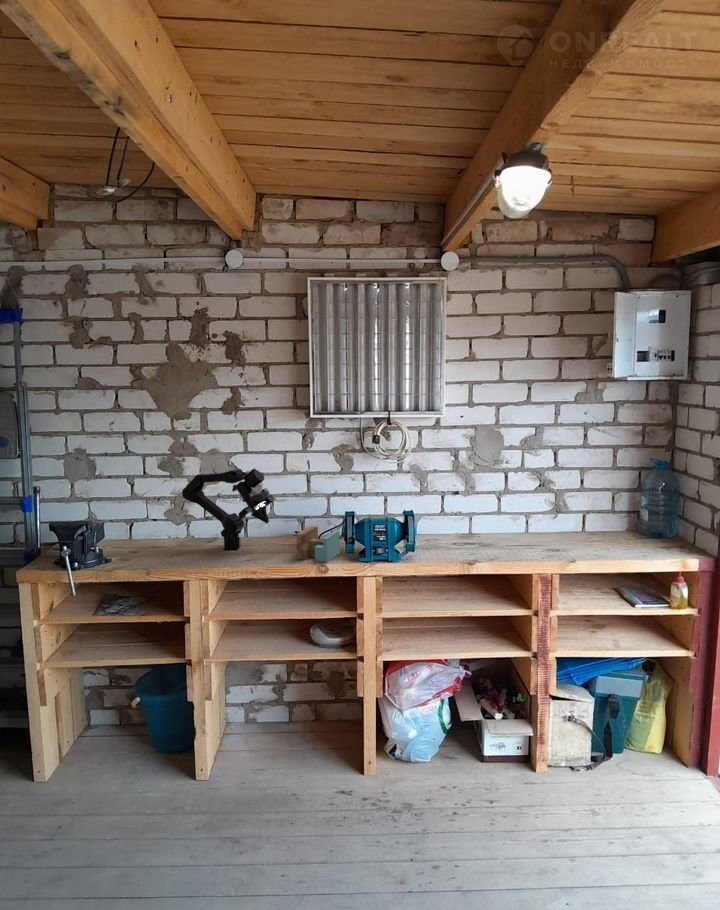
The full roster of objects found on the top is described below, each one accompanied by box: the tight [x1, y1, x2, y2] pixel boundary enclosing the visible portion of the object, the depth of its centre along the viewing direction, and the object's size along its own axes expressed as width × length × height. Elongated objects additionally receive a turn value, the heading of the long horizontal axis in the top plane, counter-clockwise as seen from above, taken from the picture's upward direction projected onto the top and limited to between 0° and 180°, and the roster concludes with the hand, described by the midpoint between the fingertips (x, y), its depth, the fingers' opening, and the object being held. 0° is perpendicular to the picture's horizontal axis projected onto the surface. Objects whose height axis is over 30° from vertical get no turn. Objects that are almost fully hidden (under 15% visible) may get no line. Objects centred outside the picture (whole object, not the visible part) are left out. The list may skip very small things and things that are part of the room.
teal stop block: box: [314, 529, 341, 563], centre depth 269 cm, size 6×14×10 cm, turn 160°
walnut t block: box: [296, 525, 323, 561], centre depth 271 cm, size 12×13×11 cm
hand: (267, 522), depth 277 cm, fingers closed
